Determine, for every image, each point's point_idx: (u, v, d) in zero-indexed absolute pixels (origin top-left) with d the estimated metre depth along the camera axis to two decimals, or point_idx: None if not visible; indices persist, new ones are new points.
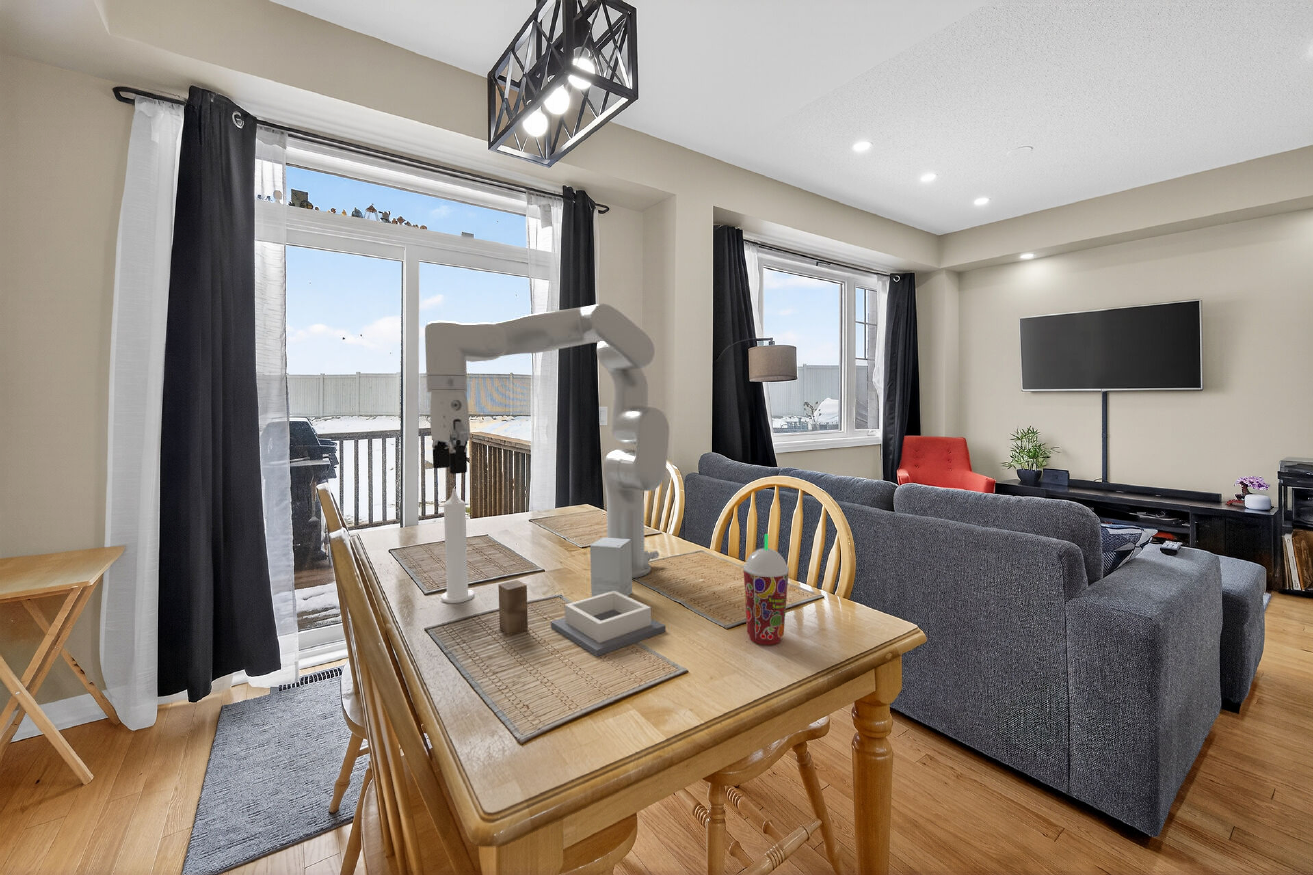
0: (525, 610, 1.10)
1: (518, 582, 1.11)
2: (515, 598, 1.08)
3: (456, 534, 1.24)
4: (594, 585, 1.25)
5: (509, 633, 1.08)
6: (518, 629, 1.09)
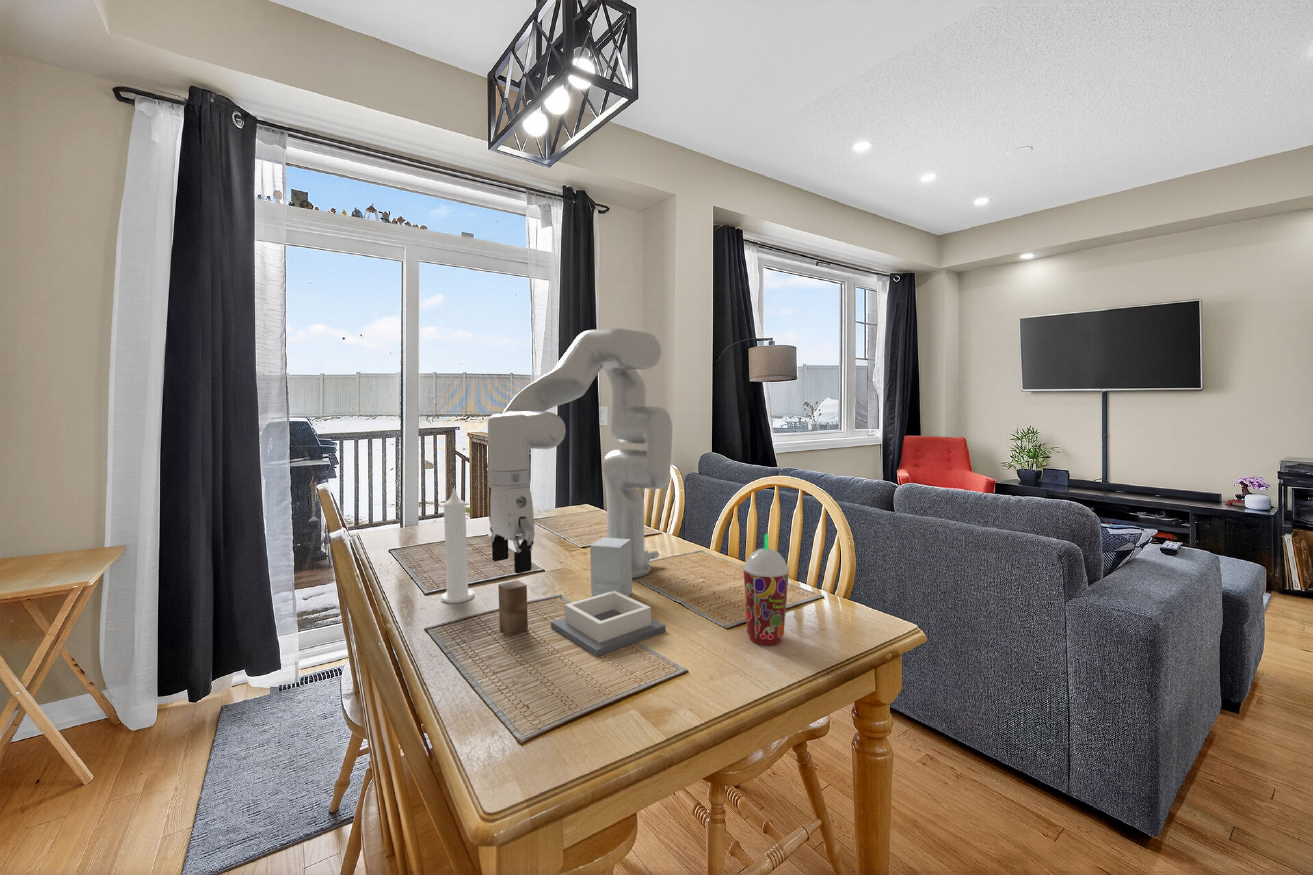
0: (525, 610, 1.10)
1: (518, 582, 1.11)
2: (515, 598, 1.08)
3: (456, 534, 1.24)
4: (594, 585, 1.25)
5: (509, 633, 1.08)
6: (518, 629, 1.09)
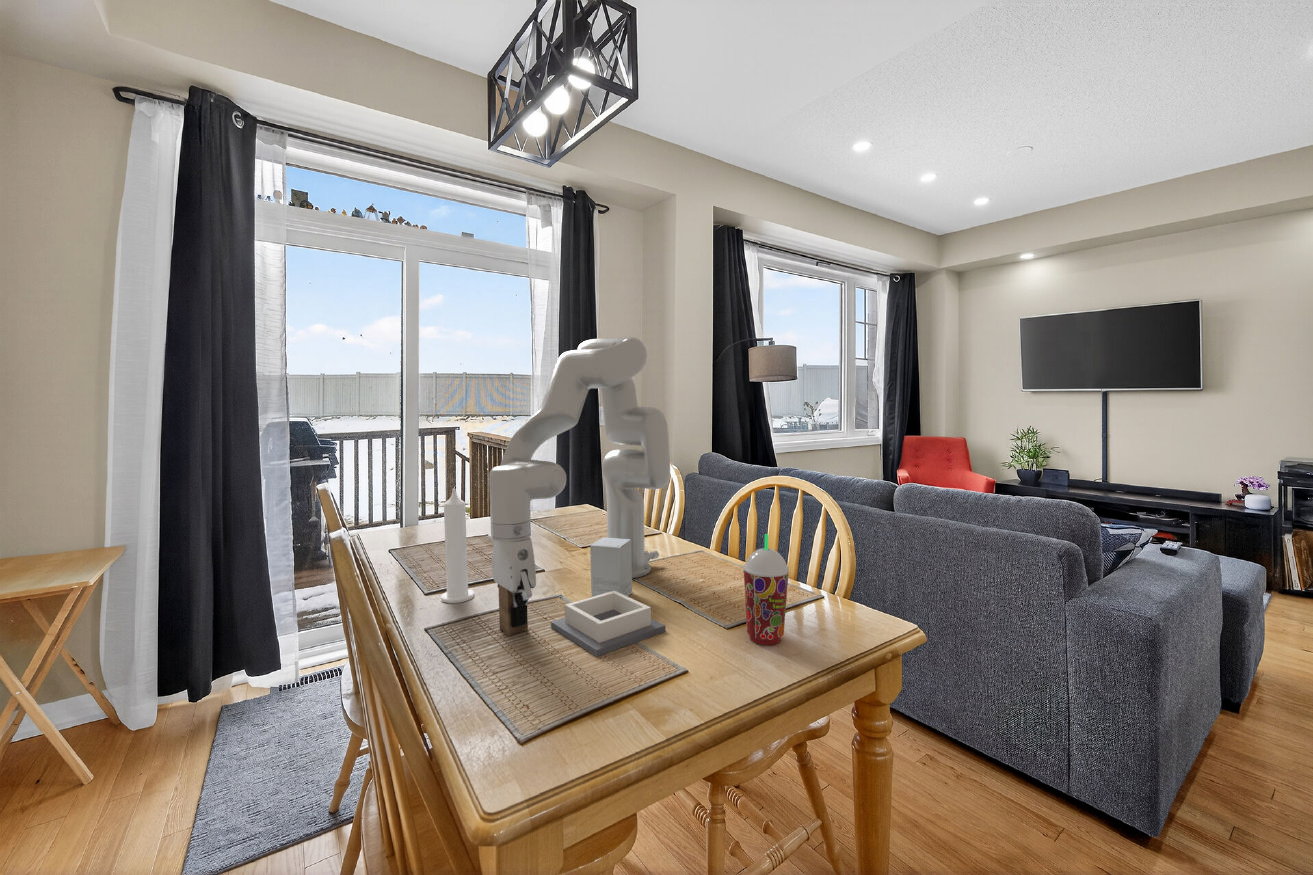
0: None
1: None
2: None
3: (456, 534, 1.24)
4: (594, 585, 1.25)
5: (509, 633, 1.08)
6: (518, 629, 1.09)
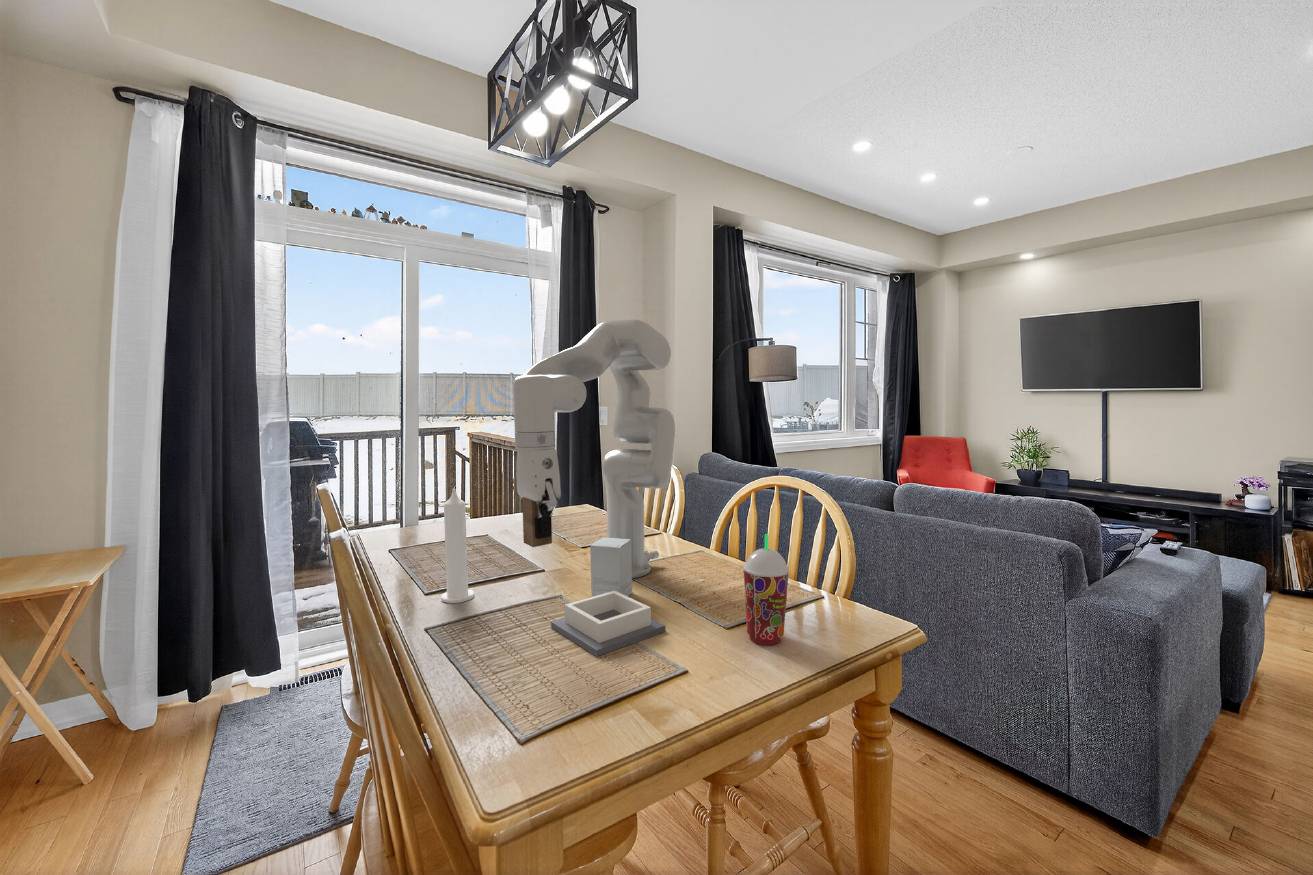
0: None
1: None
2: None
3: (456, 534, 1.24)
4: (594, 585, 1.25)
5: (533, 545, 1.06)
6: (542, 541, 1.07)
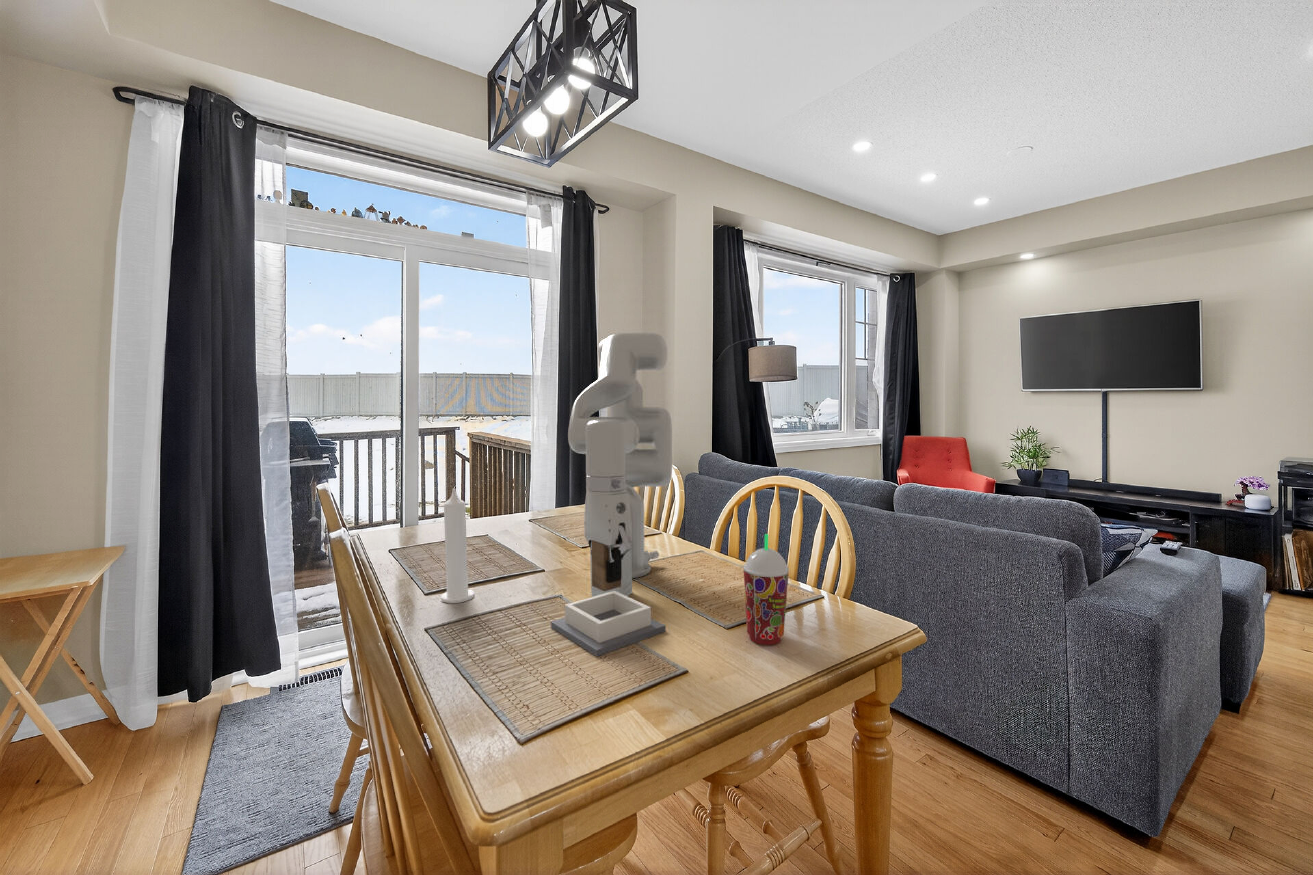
0: None
1: None
2: None
3: (456, 534, 1.24)
4: None
5: (604, 589, 1.06)
6: (612, 585, 1.07)
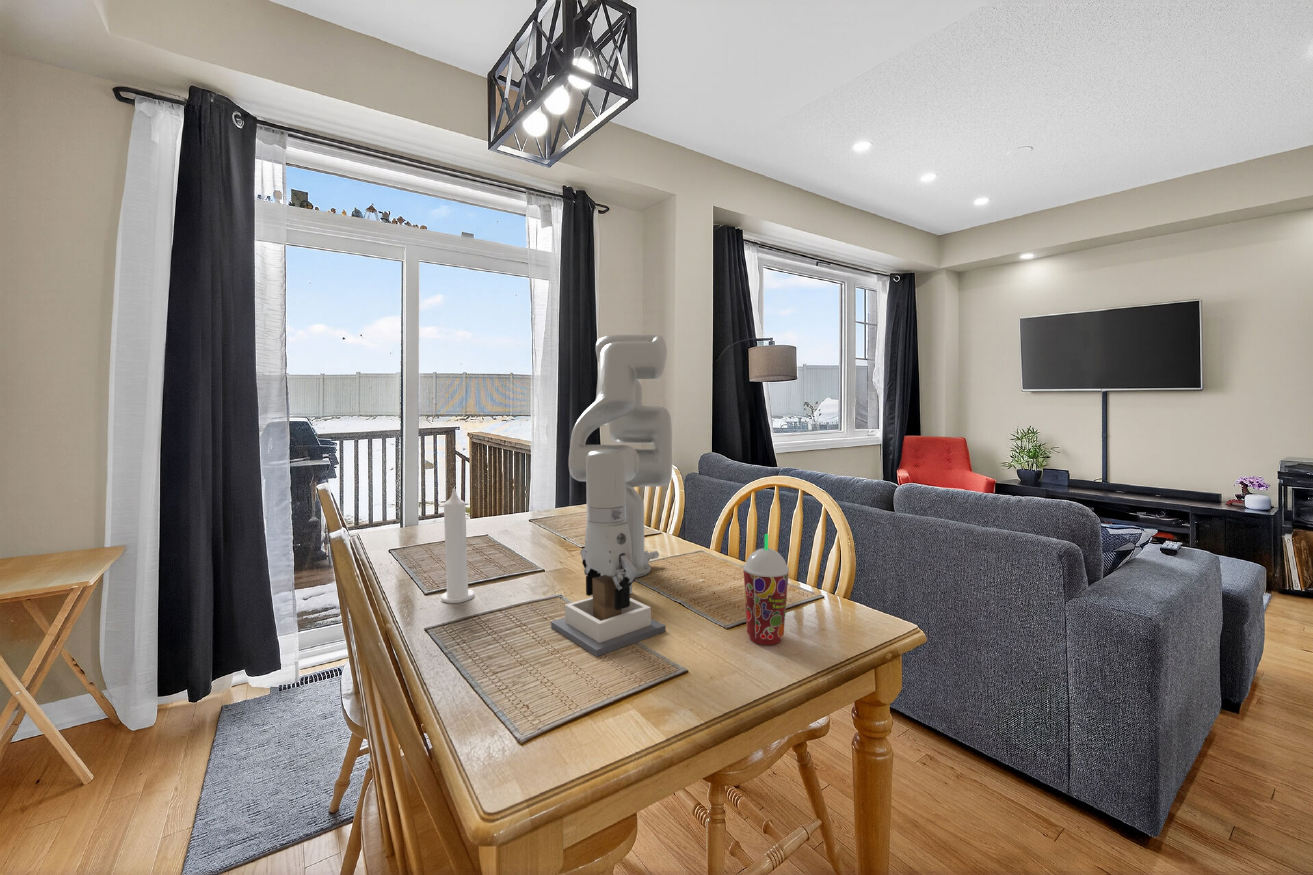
0: None
1: None
2: (611, 592, 1.08)
3: (456, 534, 1.24)
4: None
5: None
6: None
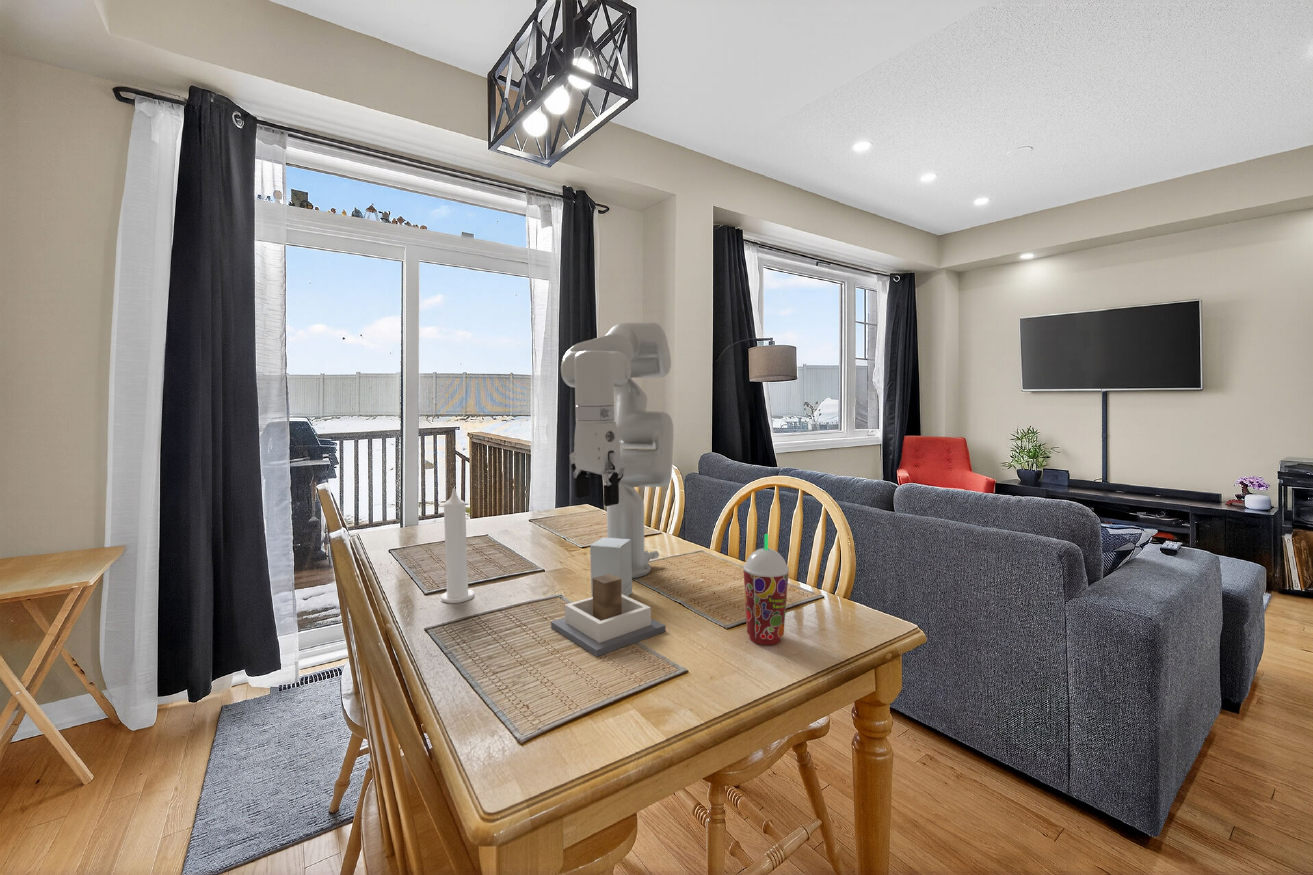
0: (619, 604, 1.09)
1: (611, 576, 1.11)
2: (611, 592, 1.08)
3: (456, 534, 1.24)
4: None
5: None
6: None
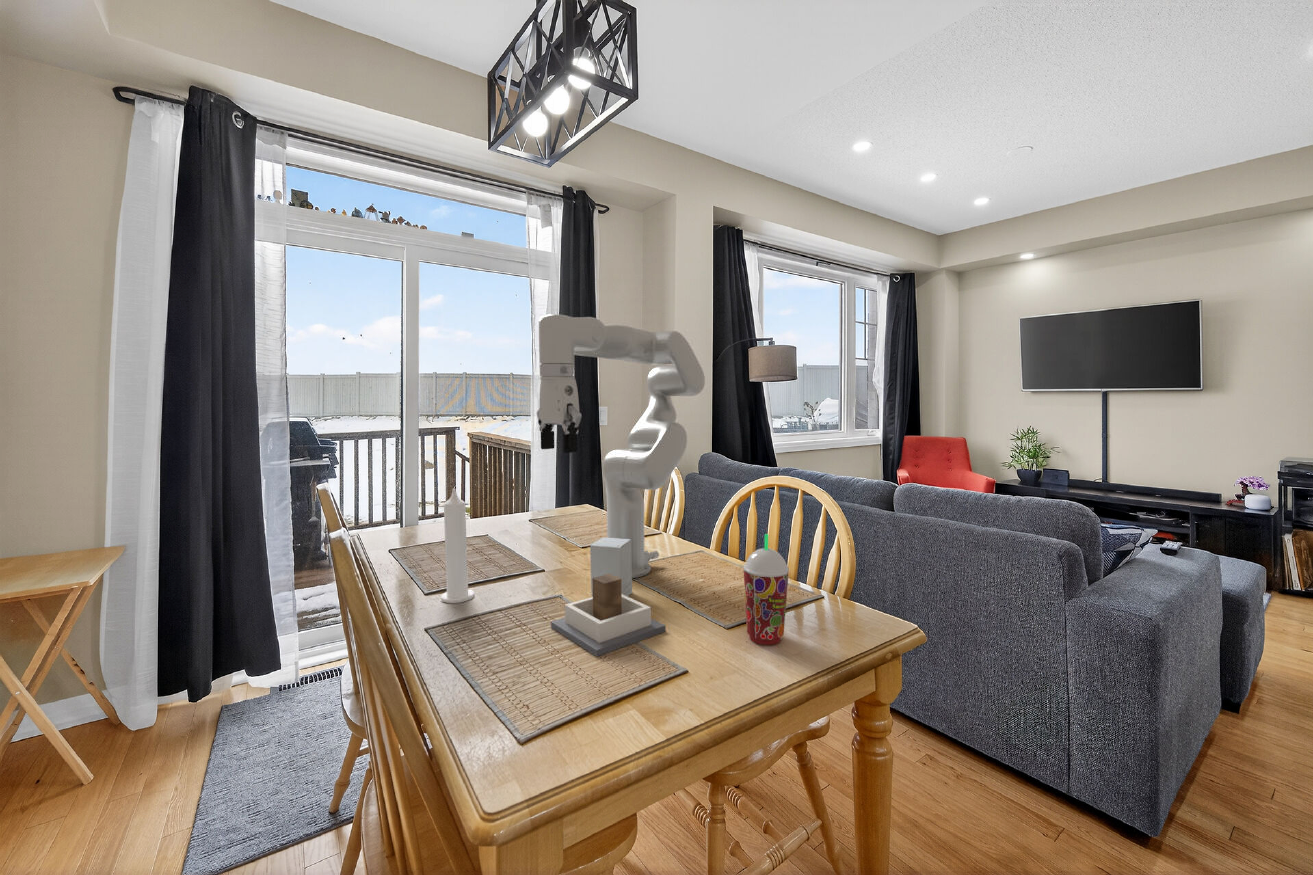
0: (619, 604, 1.09)
1: (611, 576, 1.11)
2: (611, 592, 1.08)
3: (456, 534, 1.24)
4: None
5: None
6: None
